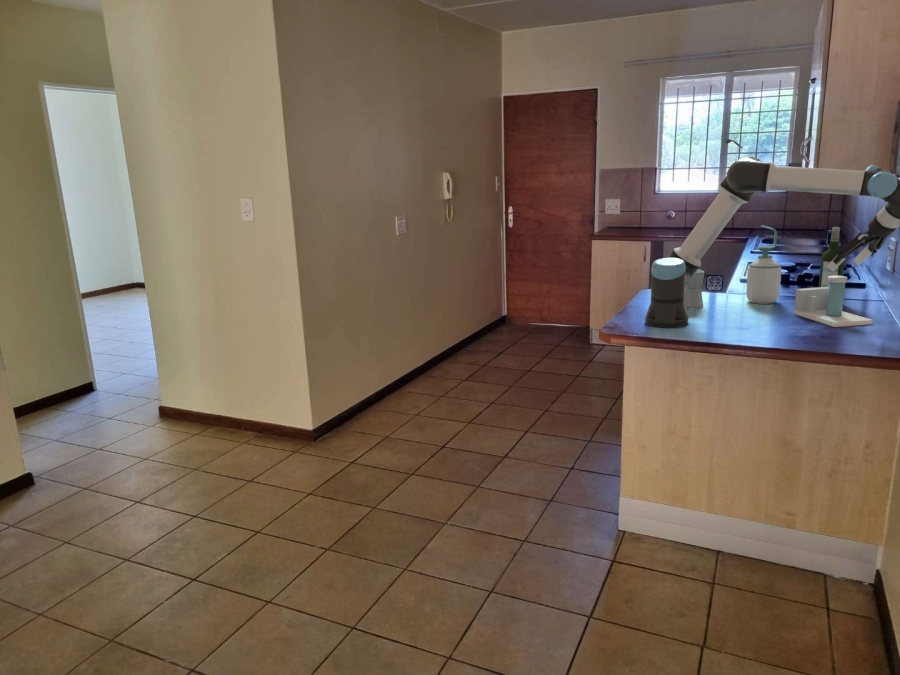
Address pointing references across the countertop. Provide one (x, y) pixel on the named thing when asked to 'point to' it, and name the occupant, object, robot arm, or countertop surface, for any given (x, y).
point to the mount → (823, 308)
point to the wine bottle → (830, 259)
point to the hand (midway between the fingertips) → (843, 265)
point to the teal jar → (835, 295)
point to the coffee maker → (694, 290)
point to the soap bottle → (764, 276)
